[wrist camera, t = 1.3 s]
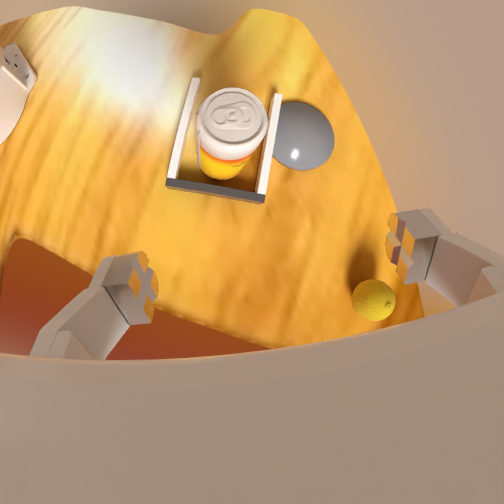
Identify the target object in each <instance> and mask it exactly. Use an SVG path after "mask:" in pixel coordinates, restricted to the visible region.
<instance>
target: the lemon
mask: <svg viewBox="0 0 504 504" xmlns="http://www.w3.org/2000/svg"><path fill="white" fill-rule="evenodd" d="M352 304H353V307H354V309H355V311H356V312H357V313H358V314H359V315H360V316H361V317H363V318H365V319H367V320H373V321H378V320H383V319H385V318H386V317H388V316H389V315H390V314H391V313H392V311H393V309H394V306H395V295H394V292H393V291H392V289H391V288H390V287H389V286H388V285H387V284H386V283H384V282H382V281H379V280H376V279H369V280H365V281H363V282H361V283H359V284H358V285H357V286H356V288H355V289H354V291H353V294H352Z"/></svg>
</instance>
